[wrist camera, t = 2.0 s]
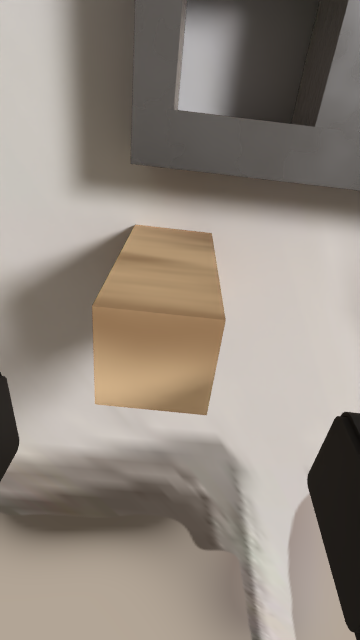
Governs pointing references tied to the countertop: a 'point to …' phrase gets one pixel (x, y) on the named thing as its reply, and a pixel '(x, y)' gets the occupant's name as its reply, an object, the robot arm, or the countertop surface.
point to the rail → (248, 134)
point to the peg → (159, 323)
